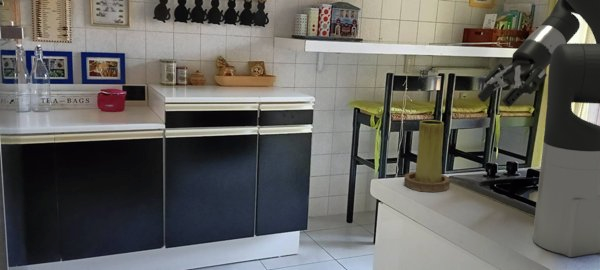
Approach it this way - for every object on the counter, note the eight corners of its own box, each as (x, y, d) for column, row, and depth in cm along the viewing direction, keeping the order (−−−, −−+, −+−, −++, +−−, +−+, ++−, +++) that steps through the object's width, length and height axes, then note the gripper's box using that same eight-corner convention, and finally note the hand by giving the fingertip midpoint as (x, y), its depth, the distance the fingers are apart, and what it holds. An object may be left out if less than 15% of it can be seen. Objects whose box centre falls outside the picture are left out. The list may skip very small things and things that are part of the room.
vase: (445, 181, 116) (449, 121, 113) (437, 188, 111) (441, 125, 108) (419, 177, 119) (422, 118, 116) (410, 184, 114) (413, 122, 111)
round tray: (457, 189, 112) (458, 182, 112) (418, 193, 109) (418, 186, 109) (433, 177, 121) (434, 170, 121) (396, 180, 118) (396, 173, 118)
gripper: (508, 38, 119) (464, 87, 118) (555, 38, 105) (505, 93, 104) (524, 60, 121) (481, 108, 120) (572, 63, 108) (523, 117, 107)
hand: (492, 101), depth 112 cm, fingers open, 8 cm apart
